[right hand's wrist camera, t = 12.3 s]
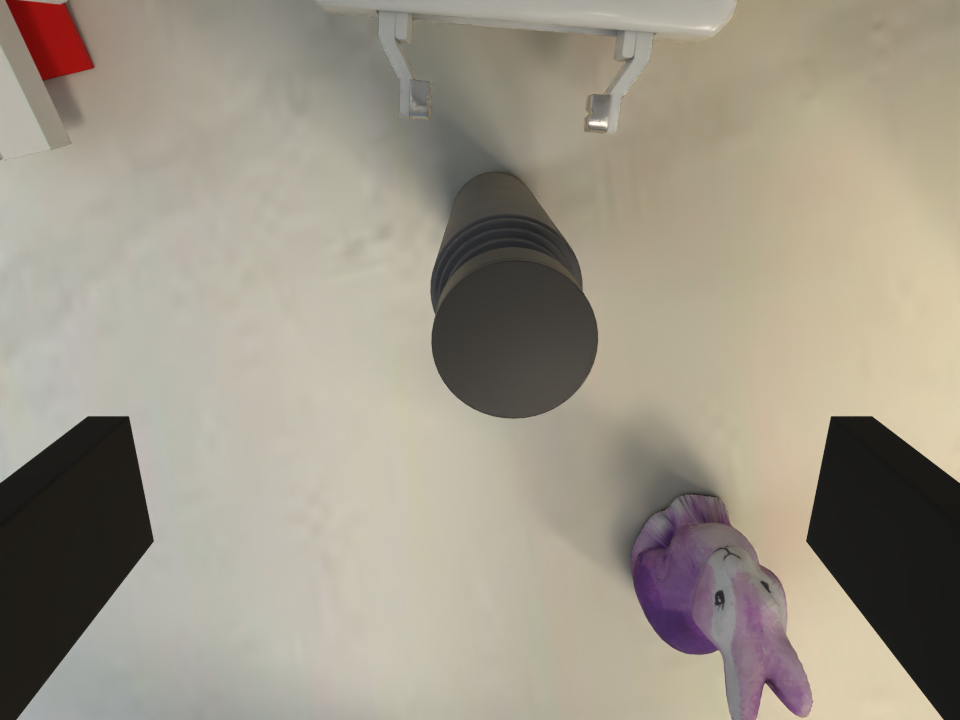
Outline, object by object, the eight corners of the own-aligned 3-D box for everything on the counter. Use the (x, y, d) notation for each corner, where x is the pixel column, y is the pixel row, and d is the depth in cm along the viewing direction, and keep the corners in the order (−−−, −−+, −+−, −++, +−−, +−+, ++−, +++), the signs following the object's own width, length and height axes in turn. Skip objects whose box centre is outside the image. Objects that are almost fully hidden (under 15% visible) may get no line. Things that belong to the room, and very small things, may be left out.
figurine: (699, 461, 47) (792, 606, 33) (769, 557, 50) (882, 728, 36) (589, 530, 49) (634, 693, 35) (662, 618, 52) (730, 803, 38)
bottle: (436, 200, 41) (378, 305, 18) (510, 155, 41) (553, 202, 17) (479, 273, 43) (479, 457, 19) (552, 230, 42) (644, 370, 19)
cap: (407, 296, 19) (399, 314, 18) (541, 217, 19) (548, 227, 17) (484, 416, 21) (485, 445, 19) (612, 347, 20) (626, 370, 18)
